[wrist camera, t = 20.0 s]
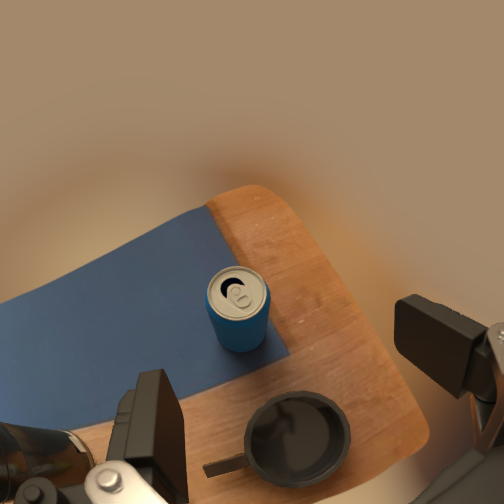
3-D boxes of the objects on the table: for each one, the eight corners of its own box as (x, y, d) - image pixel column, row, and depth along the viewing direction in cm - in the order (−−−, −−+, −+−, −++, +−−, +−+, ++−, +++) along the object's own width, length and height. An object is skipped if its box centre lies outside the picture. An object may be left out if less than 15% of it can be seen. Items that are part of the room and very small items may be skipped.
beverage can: (244, 298, 40) (242, 251, 30) (275, 333, 38) (285, 296, 27) (206, 326, 38) (189, 287, 28) (237, 363, 35) (230, 338, 25)
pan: (265, 494, 26) (267, 502, 23) (230, 413, 32) (228, 413, 28) (354, 456, 28) (365, 459, 25) (319, 379, 34) (326, 374, 31)
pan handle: (211, 472, 27) (207, 478, 24) (207, 461, 28) (202, 466, 25) (250, 461, 28) (250, 465, 25) (245, 450, 29) (245, 453, 26)
